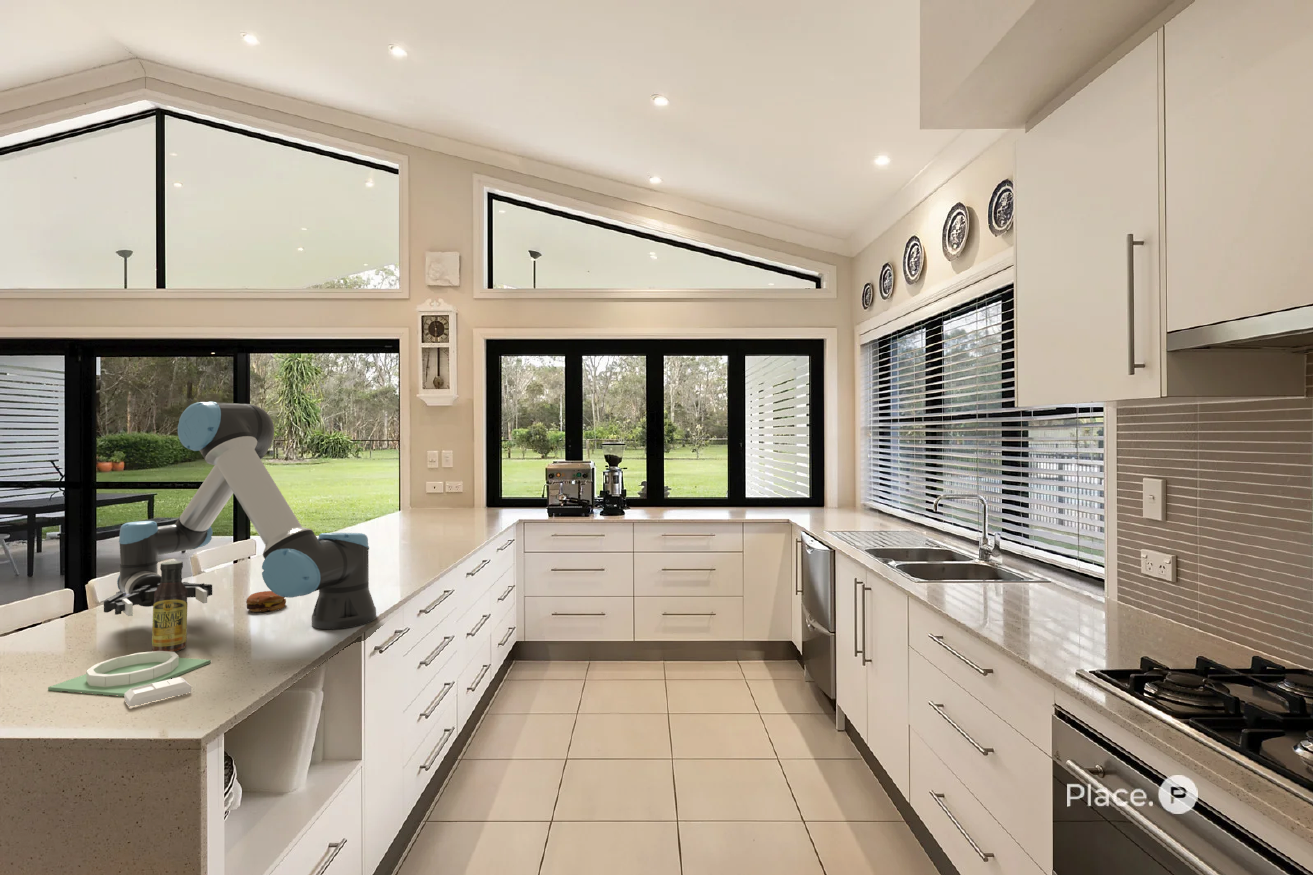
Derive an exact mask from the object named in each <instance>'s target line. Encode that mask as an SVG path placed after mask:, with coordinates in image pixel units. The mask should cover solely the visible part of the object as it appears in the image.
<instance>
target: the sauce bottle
mask: <svg viewBox="0 0 1313 875" xmlns="http://www.w3.org/2000/svg"><path fill="white" fill-rule="evenodd" d="M183 568H184V562H183V561H181V560H179V561H178V560H177V561H176V560H175V561H174V560H173V561H172V560H171V561H165V562H164V561H163V562H161V563H160V571H161V572H160V573H161V574H160V576H161V583H160V585H159V586H158V588H157V590H156V591H155V593H154V605H153V606H152V626H151V627H152V629H151V646H152V649H151V650H152V651H170V652H175V653H176V652H179V651H181V650H183V649H184V648H185V647H186V646H187V645H186V644H187V639H188V638H187V632H188V631H187V630H188V629H187V628H188V597H187V589H186V587H185V586H184V584H183V583H182V582H183V578H182V573H183ZM152 651H151V652H152Z"/></svg>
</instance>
